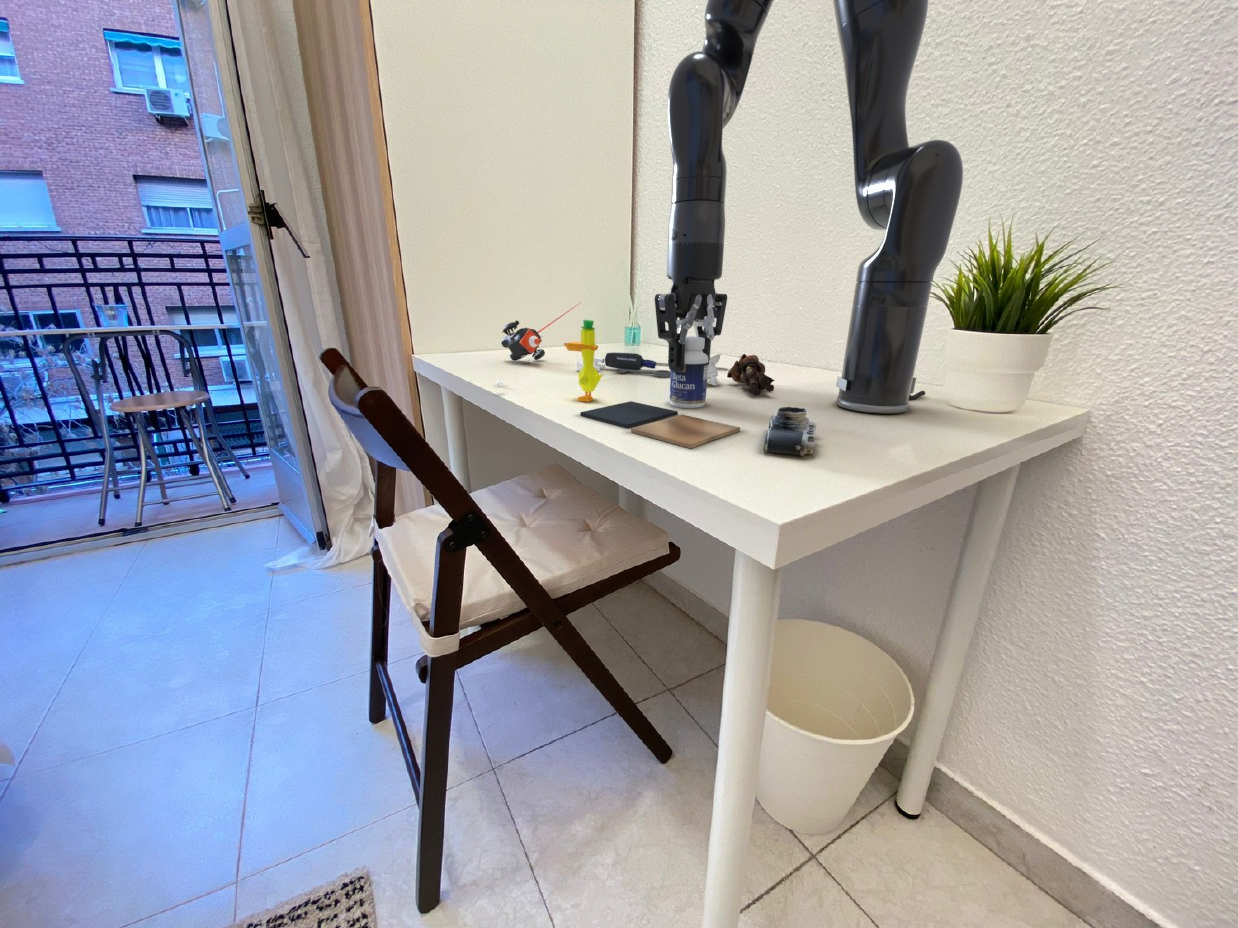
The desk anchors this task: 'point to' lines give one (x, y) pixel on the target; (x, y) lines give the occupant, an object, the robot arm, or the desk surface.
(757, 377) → the figurine
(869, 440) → the desk surface
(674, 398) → the pill bottle
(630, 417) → the rubber mat
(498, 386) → the sphere
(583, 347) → the toy figure
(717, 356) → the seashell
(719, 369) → the screwdriver
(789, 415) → the camera
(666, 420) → the copper plate
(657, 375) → the key
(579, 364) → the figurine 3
